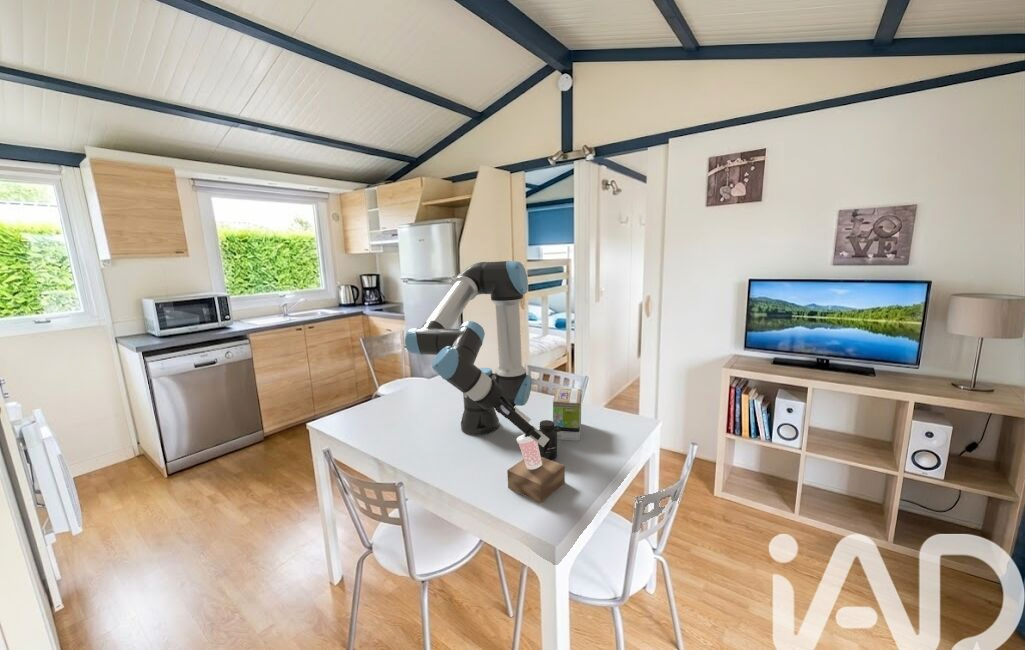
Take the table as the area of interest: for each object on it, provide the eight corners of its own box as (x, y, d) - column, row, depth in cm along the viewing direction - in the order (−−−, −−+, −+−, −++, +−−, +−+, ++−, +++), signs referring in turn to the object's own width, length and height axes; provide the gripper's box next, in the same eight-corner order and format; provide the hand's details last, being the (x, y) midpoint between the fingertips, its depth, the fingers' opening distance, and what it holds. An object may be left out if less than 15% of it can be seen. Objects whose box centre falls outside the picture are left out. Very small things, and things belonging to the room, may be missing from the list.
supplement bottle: (552, 463, 127) (551, 429, 125) (533, 458, 131) (532, 425, 129) (561, 454, 133) (560, 421, 131) (543, 449, 137) (542, 417, 134)
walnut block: (508, 488, 116) (507, 470, 114) (532, 470, 125) (532, 453, 123) (541, 504, 108) (540, 484, 107) (564, 483, 117) (564, 465, 116)
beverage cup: (536, 471, 111) (522, 424, 110) (520, 470, 115) (507, 424, 115) (548, 461, 115) (536, 416, 115) (533, 460, 119) (520, 416, 119)
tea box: (580, 441, 141) (580, 402, 138) (552, 439, 143) (551, 401, 141) (581, 423, 156) (581, 388, 153) (556, 422, 158) (555, 387, 155)
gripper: (464, 386, 117) (513, 424, 124) (486, 419, 93) (545, 463, 101) (480, 367, 117) (528, 406, 125) (506, 395, 94) (564, 440, 102)
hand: (536, 432), depth 113 cm, fingers open, 13 cm apart
